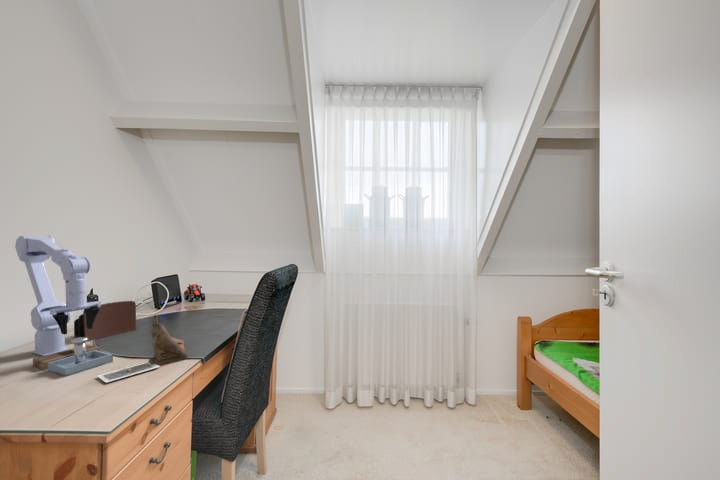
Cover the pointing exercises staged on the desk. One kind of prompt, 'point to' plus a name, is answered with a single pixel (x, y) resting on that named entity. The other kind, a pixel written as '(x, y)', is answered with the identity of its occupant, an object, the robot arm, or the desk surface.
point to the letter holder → (108, 321)
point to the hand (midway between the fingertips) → (77, 331)
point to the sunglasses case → (179, 342)
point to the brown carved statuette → (165, 346)
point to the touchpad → (127, 371)
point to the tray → (69, 367)
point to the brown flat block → (58, 357)
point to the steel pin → (79, 349)
